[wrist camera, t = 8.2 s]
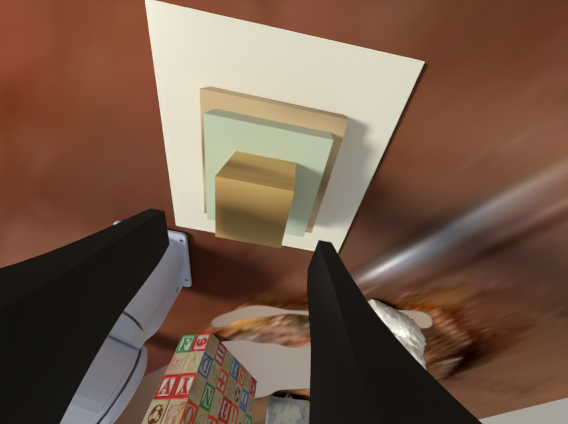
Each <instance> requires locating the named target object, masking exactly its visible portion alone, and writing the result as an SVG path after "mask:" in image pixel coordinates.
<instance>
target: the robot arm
mask: <svg viewBox="0 0 568 424" xmlns="http://www.w3.org/2000/svg"><path fill="white" fill-rule="evenodd" d="M181 239H182V240H181ZM191 284H192V280H191V270H190V261H189V251H188V242H187V235H186V234H185V233H182V232H177V231H171V230H167V224H166V218H165V213H164V211H161V210H156V209H148V210H146V211H143V212H141V213H139V214H137V215H134V216H132V217H130V218H128V219H126V220H123V221H116V222H115V223H114V225H112V226H110V227H108V228H106V229H104V230H101V231H99V232H97V233H95V234H92V235H90V236H87V237H85V238H83V239H80V240H78V241H75V242H73V243H71V244H68V245H66V246H63V247H61V248H58V249H56V250H53V251H50V252H48V253H45V254H42V255H39V256H36V257H34V258H31V259H28V260H25V261H22V262H19V263H16V264H13V265H10V266H7V267H3V268H0V424H113V423H114V422H115V421H116V420H117V418H118V417H119V416H120V414H121V413H122V411H123V410H124V409H125V407H126V406H127V404H128V403H129V401H130V399H131V398H132V396H133V395H134V393H135V391H136V389H137V387H138V386H139V383H140V381H141V379H142V377H143V375H144V372H145V369H146V365H147V349H146V347H144V346H143V344H144V342H145V341H146V340H147V339H149V338H150V337H151V336H153V335H154V334H155V333H156V332H157V330H158V329H159V328H160V326H161V325H162V323H163V321H164V319H165V318H166V316H167V314H168V312H169V310H170V309H171V307H172V305H173V303H174V301H175V300H176V298H177V296H178V294H179V292H180V291H181V289H182V287H183V286H185V287H190V286H191ZM307 295H308V309H309V323H310V337H311V378H310V407H309V424H482V423H481V422H480V421H479V420H478V419H477V418H476V417H474V416H473V415H472V414H471V413H470V412H469V411H468V410H467V409H466V408H465V407H464V406H463V405H462V404H460V403H459V402H458V401H457V400H456V399H455V398H454V397H453V396H452V395H451V394H450V393H449V392H448V391H447V390H446V389H445V388H444V387H443V386H442V385H441V384H440V383H439V382H438V381H437V380H436V379H435V378H434V377H433V376H432V375H431V374H430V373H429V372H428V371H427V370H426V369H425V368H424V367H423V366H422V365H421V364H420V363H419V362H418V361H417V360H416V359H415V358H414V357H413V356H412V355H411V353H410V352H409V351H408V350H407V349H406V348H405V347H404V346H403V345H402V343H401V342H400V341H399V340H398V339H397V338H396V337H395V335H394V334H393V333H392V332H391V331H390V330H389V328H388V327H387V326H386V325H385V323H384V322H383V321H382V320H381V318H380V317H379V316H378V315H377V313H376V312H375V311H374V309H373V308H372V307H371V305H370V304H369V303H368V301H367V300H366V298H365V297H364V295H363V294H362V293H361V291H360V290H359V288H358V286H357V285H356V283H355V282H354V280H353V279H352V277H351V275H350V274H349V272H348V270H347V269H346V267H345V265H344V264H343V262H342V260H341V258H340V257H339V255H338V253H337V251H336V249H335V248H334V246H333V244H332V243H331V242H327V241H322V240H318V243H317V246H316V248H315V251H314V254H313V257H312V259H311V262H310V265H309V268H308V279H307Z"/></svg>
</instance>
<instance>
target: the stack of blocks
mask: <svg viewBox="0 0 568 424" xmlns="http://www.w3.org/2000/svg"><path fill="white" fill-rule="evenodd" d="M256 383H257V381H256V380H255V379H254V378H253V377H252V376H251V374H250V373H249V372H248V371H247V370H246V369H245V368H244V367H243V366H242V365H241V364H240V363H239V362H238V361H237V360H236V359H235V357H234V356H233V355H232V354H231V353H230V352H229V351H228V350H227V349H226V347H225V346H224V345H223V344H222V343H221V342H220V341H219V340H218V339H217V338H216V337H215V336H214V335H213V334H212V333H204V334H196V335H186V336H182V338H181V340H180V342H179V344H178V346H177V348H176V351H175V354H174V356H173V358H172V360H171V362H170V364H169V366H168V368H167V371H166V373H165V375H164V377H163V379H162V381H161V382H160V385H159V387H158V389H157V392H156V394H155V395H154V398H153V401H152V403H151V405H150V407H149V409H148V411H147V413H146V415H145V418H144V420H143V422H142V424H251V423H252V412H253V405H254V396H255V390H256Z"/></svg>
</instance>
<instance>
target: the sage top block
mask: <svg viewBox="0 0 568 424" xmlns="http://www.w3.org/2000/svg"><path fill="white" fill-rule="evenodd" d="M203 115H204V146H205V176H206V207H207V219H209V220H214V221H215V176H216V174H217V173H218V172H219V171H220V169H221V168H222V167H223V166H224V165H225V163H226V162H227V161H228V160H229V159H230V157H231V156H232V155H233V154H234V153H235V151H240V152H245V153H250V154H255V155H260V156H265V157H270V158H275V159H280V160H285V161H290V162H295V163H296V173H295V187H294V195H293V199H292V203H291V207H290V212H289V216H288V220H287V224H286V229H285V233H284V234H289V235H294V236H300V237H304V234H305V231H306V228H307V225H308V221H309V218H310V215H311V212H312V208H313V205H314V202H315V199H316V195H317V192H318V189H319V186H320V182H321V179H322V176H323V173H324V169H325V166H326V163H327V160H328V156H329V153H330V150H331V147H332V143H333V138H332V136H331V133H330V132H327V131H322V130H317V129H312V128H307V127H303V126H298V125H293V124H288V123H283V122H278V121H274V120H269V119H264V118H259V117H254V116H250V115H245V114H240V113H235V112H230V111H226V110H221V109H216V108H214V109H212V110H210V111H207V112H205V113H203Z"/></svg>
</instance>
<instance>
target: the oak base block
mask: <svg viewBox="0 0 568 424" xmlns="http://www.w3.org/2000/svg"><path fill="white" fill-rule="evenodd" d="M214 108H216V109H221V110H226V111H230V112H235V113H240V114H245V115H250V116H254V117H259V118H264V119H269V120H274V121H278V122H283V123H288V124H293V125H298V126H303V127H307V128H312V129H317V130H322V131H327V132H330V133H331V136H332V138H333V143H332V147H331V150H330V153H329V156H328V160H327V163H326V166H325V169H324V173H323V176H322V179H321V182H320V186H319V189H318V192H317V195H316V199H315V202H314V205H313V208H312V212H311V215H310V218H309V221H308V225H307V228H306V231H305V232H308V233H312V230H313V227H314V224H315V221H316V218H317V215H318V212H319V209H320V206H321V203H322V200H323V197H324V194H325V191H326V188H327V185H328V182H329V179H330V176H331V173H332V170H333V167H334V164H335V161H336V158H337V155H338V152H339V149H340V146H341V143H342V140H343V137H344V134H345V131H346V128H347V125H348V122H349V119H348V118H347V117H346V116H345V115H343V114H338V113H334V112H329V111H324V110H319V109H315V108H310V107H305V106H301V105H296V104H291V103H286V102H282V101H277V100H272V99H268V98H263V97H258V96H253V95H249V94H244V93H239V92H235V91H230V90H225V89H220V88H216V87H211V86H210V87H204V88H200V113H201V138H202V164H203V189H204V213H207V207H206V176H205V146H204V115H203V113H205V112H207V111H210V110H212V109H214Z"/></svg>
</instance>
